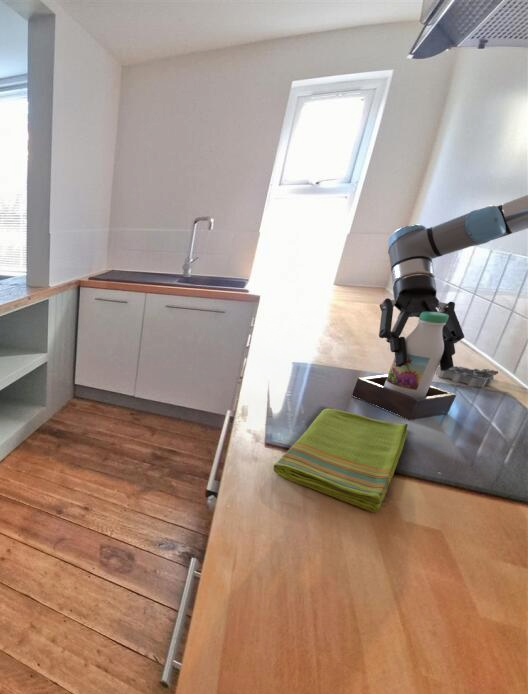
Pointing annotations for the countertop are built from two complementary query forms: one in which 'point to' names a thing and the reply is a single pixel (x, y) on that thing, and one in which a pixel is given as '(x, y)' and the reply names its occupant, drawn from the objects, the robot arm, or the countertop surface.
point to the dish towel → (346, 457)
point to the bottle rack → (403, 399)
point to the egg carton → (468, 375)
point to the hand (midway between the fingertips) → (424, 366)
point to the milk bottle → (419, 357)
